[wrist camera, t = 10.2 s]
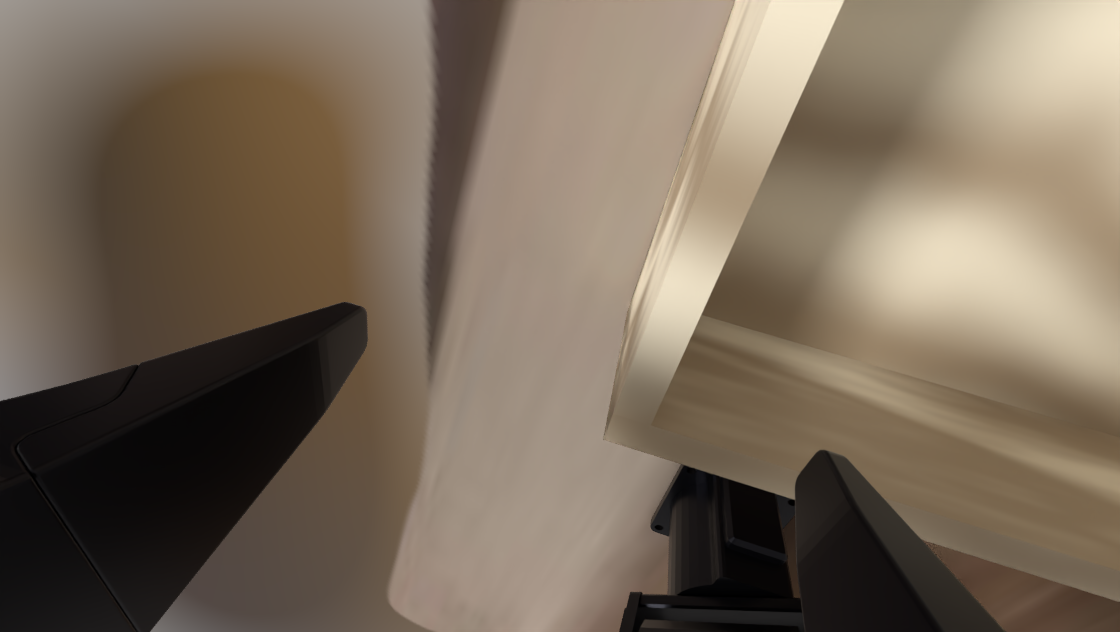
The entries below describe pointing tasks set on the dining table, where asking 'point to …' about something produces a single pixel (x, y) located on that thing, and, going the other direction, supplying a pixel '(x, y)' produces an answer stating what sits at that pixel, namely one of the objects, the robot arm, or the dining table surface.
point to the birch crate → (900, 271)
